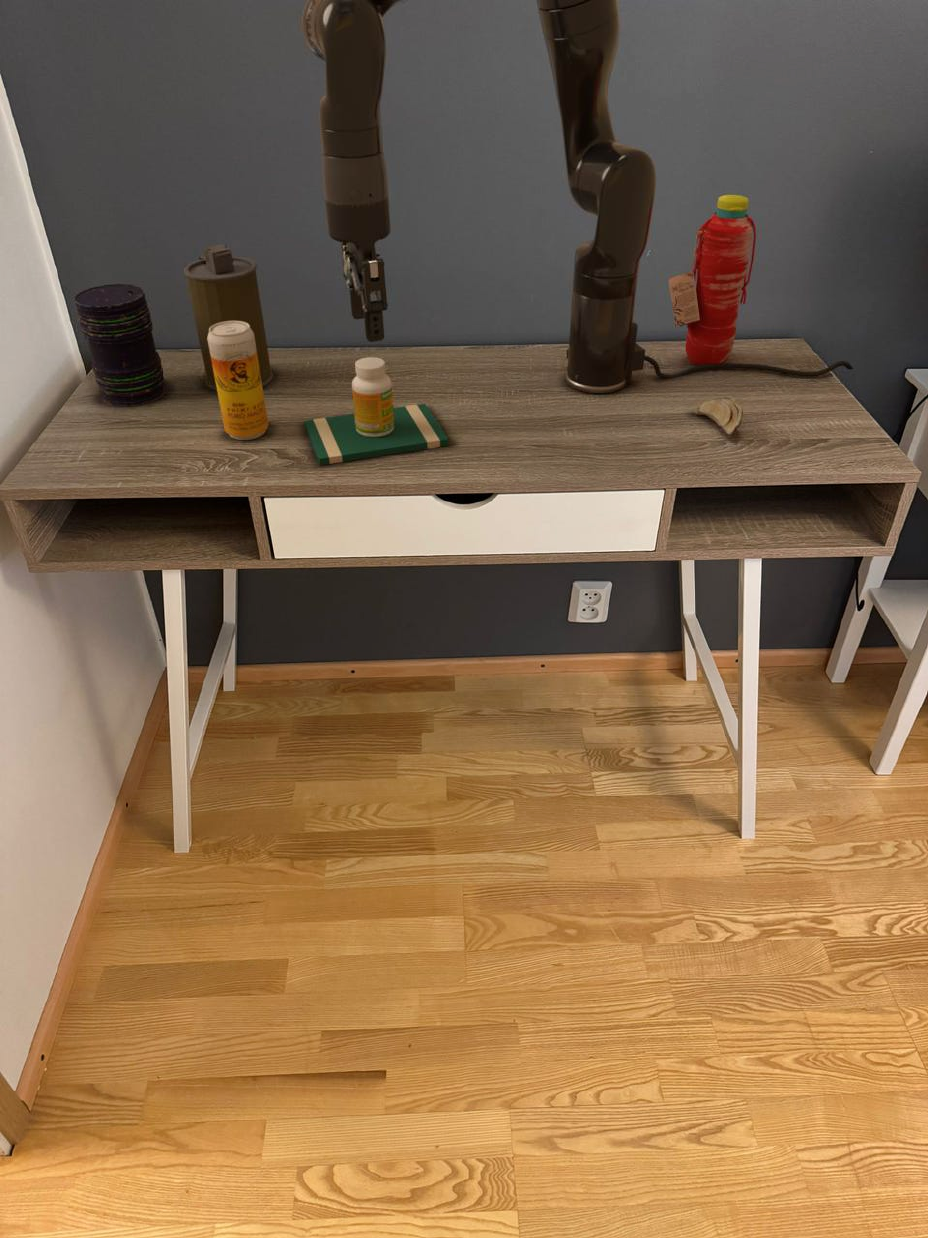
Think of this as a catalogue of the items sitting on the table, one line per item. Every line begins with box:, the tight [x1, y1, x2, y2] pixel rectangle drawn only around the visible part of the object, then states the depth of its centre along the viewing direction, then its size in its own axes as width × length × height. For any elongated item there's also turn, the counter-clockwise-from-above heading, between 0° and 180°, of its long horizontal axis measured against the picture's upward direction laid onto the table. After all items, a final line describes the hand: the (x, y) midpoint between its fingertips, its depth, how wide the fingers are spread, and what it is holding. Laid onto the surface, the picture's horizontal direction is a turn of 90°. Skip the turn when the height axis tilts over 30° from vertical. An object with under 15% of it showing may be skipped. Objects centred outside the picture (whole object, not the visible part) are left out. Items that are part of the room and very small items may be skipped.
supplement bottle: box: [351, 356, 394, 437], centre depth 120 cm, size 5×5×10 cm
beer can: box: [207, 321, 269, 441], centre depth 121 cm, size 6×6×15 cm
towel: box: [303, 403, 450, 466], centre depth 124 cm, size 18×12×1 cm, turn 108°
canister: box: [183, 243, 274, 392], centre depth 134 cm, size 11×10×20 cm
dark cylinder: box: [73, 283, 167, 407], centre depth 131 cm, size 10×10×15 cm
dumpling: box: [694, 397, 744, 438], centre depth 125 cm, size 6×4×10 cm
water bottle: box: [668, 194, 757, 366], centre depth 136 cm, size 12×8×25 cm, turn 91°
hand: (367, 328), depth 115 cm, fingers open, 8 cm apart
